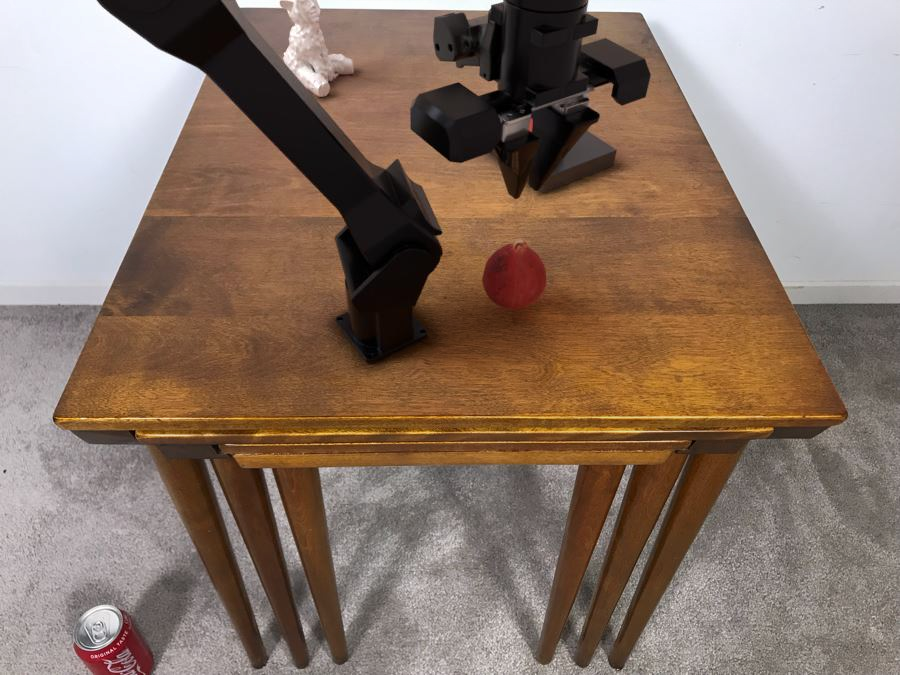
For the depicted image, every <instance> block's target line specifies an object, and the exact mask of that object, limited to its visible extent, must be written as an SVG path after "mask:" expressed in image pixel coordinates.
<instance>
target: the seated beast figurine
mask: <svg viewBox="0 0 900 675" xmlns="http://www.w3.org/2000/svg"><path fill="white" fill-rule="evenodd" d="M279 6H280V8H282V9H283V10H286V12H287V14H288V16H289V18H290V20H291V21H292V23H294V25H293V26H292V27H290V28H291V29H290V31H289V37H288V42H289V45H288V46H287V48H286V51H285V52H283V57H282V60H283V62H284V63H285V64H286V65H287V66H288V67H289V69H290V70H291V71H292V72H293V73H294V74H295V76H296V77H297V78H298V79H299V80H300V82H301V83H302V84H303V85H304V86H305V87H306V89H307V90H308V91H309V92H310V93H311V94H314V95H315V96H317V97H318V98H323V97H327V95H329V93H330V90H331V86H330V83H329V82H333V81H334V80H336V78H337V77H338V76H339V75H349V76H350V75H354V71H355V70H354V69H355V68H354V66H355V65H354V60H353V59H352V58H349V57H346V56H345V55H343V54H342V53H331V54H329V49H328V48H327V47H326V41H325V37H324V33H323V31H322V29H321V28H320V23H319V22H320V15H321V11H322V10H321V7H320V4H319V3H318V0H279Z"/></svg>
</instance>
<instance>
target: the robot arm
mask: <svg viewBox="0 0 900 675" xmlns="http://www.w3.org/2000/svg"><path fill="white" fill-rule="evenodd" d="M96 2H97V3H98V5H99V6H100V7H102V8H103V9H104V10H106V12H108V13H109V14H110V15H111V16H112V17H114V18H115V19H117V20H118V21H119V22H121V23H122V24H123V25H125V26H126V27H127V28H128V29H130V30H131V31H133V32H134V33H135V34H137V35H138V36H139V37H141V38H142V39H143V40H145V41H147V43H149V44H150V45H152V46H153V47H155V48H156V49H157V50H158V51H161V52H163V53H166V54H168V55H169V56H171V57H173V58H176V59H177V60H179V61H182V62H185V63H187V64H189V65H191V66H193V67H195V68H197V69H198V70H200V71H201V72H202V73H204V74H205V75H206V76H207V77H208V78H209V79H210V80H211V82H213V83H214V84H215V85H216V86H217V87H218V88H219V89H220V90H221V92H222V93H223V94H225V96H226V97H227V98H228V99H229V100H230V101H231V102H232V103H233V104H234V105H235V106H236V107H237V108H238V109H239V110H240V111H241V112H242V113H243V114H244V115H245V117H247V119H249V120H250V121H251V122H252V124H254V125H255V126H256V128H257V129H259V131H260V132H261V133H262V134H263V135H264V136H265V137H266V138H267V139H268V140H269V141H270V142H271V143H272V144H273V145H274V146H275V147H276V148H277V149H278V151H280V152H281V153H282V154H283V155H284V156H285V157H286V159H288V161H290V163H291V164H292V165H293V166H294V167H295V168H296V169H297V170H298V171H299V172H300V173H301V174H302V176H304V177H305V178H306V179H307V180H308V181H309V183H311V185H313V186H314V187H315V188H316V189H317V191H318V192H320V194H322V196H323V197H324V198H325V199H326V200H327V201H328V202H329V203H330V204H331V205H332V206H333V207H334V208H335V209H336V210H337V212H339V214H340V216H341V217H342V219H343V221H344V224H345V225H344V226H343V228H342V229H341V230H340V231H339V232H338V233H337V234H335V236H334V241H335V245H336V249H337V251H338V257H339V260H340V263H341V267H342V270H343V274H344V287H345V296H346V305H347V311H346V312H344V313H341V314H339V315H337V316H335V318H334V323H335V325H336V326H337V328H338V329H339V330H340V332H341V333H342V334H343V335H344V336H345V338H346V339H347V340H348V342H349V343H350V344H351V345H352V347H353V348H354V349H355V351H356V352H357V353H358V354H359V355H360V357H361V358H362V359H363V360H364V362H366V364H372V363H375V362H378V361H379V360H381V359H383V358H386V357H388V356H390V355H392V354H394V353H397V352H399V351H401V350H403V349H406V348H408V347H410V346H412V345H414V344H416V343H419V342H420V341H423V340H425V339H427V338H428V337H429V330H428V329H427V328H426V326H425V325H424V324H423V323H422V322H421V321H420V320H419V319H418V317H416V316H415V314H414V307H416V305H417V304H418V301H419V298H420V296H421V294H422V292H423V291H424V290H423V289H424V287H425V285H426V283H427V281H428V278H429V276H430V275H431V274H432V273H433V272H434V271H435V270H436V268H437V267H438V265H439V264H440V262H441V259H442V256H443V254H444V252H443V251H444V250H443V246H442V244H441V241H440V240H439V237H438V236H441V235H442V234H443V230H442V228H441V226H440V223H439V220H438V219H437V217H436V214H435V213H434V210H433V207H432V206H431V203H430V200H429V199H428V196H427V193H426V192H425V190H424V188H423V186H422V185H421V184H418V183H416V182H414V181H413V179H411V177H409V176H408V174H407V172H406V170H405V168H404V167H403V165H402V163H401V161H400V159H399V158H396V159H395V160H394V161H392V162H391V164H389V165H388V167H386V168H384V167H381V166H380V165H376V164H375V163H373V162H372V161H370V160H369V159H368V158H366V156H365V155H364V154H363V153H362V152H361V150H360V149H359V148H358V147H357V146H356V144H355V143H354V142H353V141H352V140H351V139H350V138H349V136H348V135H347V134H346V133H345V131H343V129H342V128H341V127H340V126H339V125H338V124H337V123H336V121H335V120H334V119H333V118H332V117H331V115H330V114H329V113H328V112H327V111H326V110H325V108H324V107H323V105H321V104H320V102H319V101H318V100H317V99H316V98H315V96H313V93H312V92H311V91H309V90H308V89H306V87H305V86H304V85H303V84H302V83H301V82H300V80H299V79H298V78H297V77H296V76H295V74H294V73H293V72H292V71H291V70H290V69H289V67H288V66H287V65H286V64H285V63H284V60H283V58H281V57H280V55H279V54H278V53H277V51H275V50H274V48H273V47H272V46H271V45H270V44H269V43H268V41H266V39H265V38H264V37H263V36H262V34H260V32H259V31H258V30H257V29H256V27H255V26H254V25H253V24H252V23H251V22H250V20H248V18H247V17H246V16H245V14H244V12H243V11H242V8H240V6H239V4H238V2H237V0H96ZM588 7H589V0H502V1H501V2H498V3H494V4H491V5H490V8H489V10H488V13H487V14H485V15H482V16H478V17H474V18H469V19H468V18H467V16H466V14H465V12H463V11H462V12H457V13H455V12H451V13H446V14H443V15H438V16H435V17H434V20H433V31H432V32H433V34H432V42H433V48H434V52H435V57H436V58H437V59H438V60H439V61H440V62H444V63H445V62H446V63H447V62H449V63H455V67H456V69H463V68H465V67H478V68H479V74H478V75H479V77H480V78H482V79H483V80H485V81H487V82H495V83H497V89H496V90H493V91H490V92H489V91H488V92H486V93H484V94H480V95H477V93H475V92H474V91H472V90H471V89H469V88H468V87H466V85H463V83H461V82H459V81H458V82H453V83H451V84H448V85H444V86H441V87H437V88H433V89H431V90H428V91H424V92H421V93H419V94H418V95H416V96H415V98H413V100H412V101H411V105H410V108H409V117H410V118H409V124H410V130H411V131H412V132H413V133H414V134H415V135H416V136H418V137H419V138H420V139H422V140H423V141H424V142H425V143H426V144H427V145H429V146H430V147H431V148H432V149H433V150H434V151H436V152H437V153H438V154H440V155H441V156H442V157H443V158H445V159H446V160H447V161H448V162H450V163H457V164H463V163H466V162H468V161H471V160H474V159H477V158H480V157H483V156H485V155H488V154H491V152H492V151H493V149H494V151H495V154H496V157H497V158H496V157H495V158H496V160H497V163H498V166H499V169H500V172H501V176H502V179H503V182H504V185H505V189H506V191H507V194H508V195H509V196H510V197H511V198H513V199H514V200H518V199H520V198H521V195H522V194H523V191H524V189H525V187H526V184H527V183H528V182H527V179H528V176H529V183H528V186H529V187H530V188H531V189H532V190H533V191H534V192H537V191H539V190H540V189H541V188H542V187H543V185H544V184H545V183H546V181H547V180H548V179H549V177H550V176H551V175H552V173H553V172H554V171H555V169H556V168H557V167H558V165H559V164H560V163H561V161H562V160H563V159H564V157H565V156H566V155H567V153H568V152H569V151H570V150H571V149H572V147H573V146H574V145H575V144H576V143H577V142H578V140H579V139H580V138H581V137H582V136H583V134H584V133H585V132H586V131H589V129H590V128H591V126H593V125H595V124H597V123H598V122H599V120H600V118H601V114H600V113H599V112H598V111H596V110H594V108H591V107H590V98H589V93H591V92H594V91H595V90H596V89H597V88H599V87H602V86H604V85H607V84H612V89H611V94H610V97H611V98H612V99H613V100H614V101H615V102H616V103H617V104H619V105H620V106H621V107H622V106H626V105H628V104H631V103H634V102H636V101H639V100H643V99H645V98H647V94H648V89H649V84H650V81H651V76H652V74H651V71H650V68H649V66H648V63H647V60H646V58H644V57H643V56H641V55H639V54H637V53H635V52H634V51H632V50H630V49H627V48H625V47H624V46H622V45H620V44H618V43H616V42H615V41H613V40H611V39H609V38H606V37H604V38H601V39H598V40H594V41H591V42H588V43H584V44H583V39H584V38H589V37H591V36H595V35H597V34H598V33H597V31H598V26H599V20H600V19H599V18H597V17H596V16H594V15H592V14H590V13H588ZM531 117H532V121H533V125H532V132H531V131H529V124H530V118H531Z"/></svg>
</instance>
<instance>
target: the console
mask: <svg viewBox="0 0 900 675" xmlns="http://www.w3.org/2000/svg"><path fill="white" fill-rule="evenodd" d="M530 119H532V117H531V118H530ZM617 150H618V149H616V148H614V147H613V146H611V145H610V144H608V143H606V141H604V140H602V139H601V138H599V137H597V136H596V135H595V134H593V133H592V132H591V131H589V130H587V131H586V132H585V133H584V134H583V136H582V137H581V138H580V139H579V140H578V142H577V143H576V144H575V145H574V146H573V147H572V149H571V150H570V151H569V152H568V153H567V155H566V156H565V157H564V159H563V160H562V161H561V163H560V164H559V165H558V167H557V168H556V169H555V171H554V172H553V173H552V175H551V176H550V177H549V179H548V180H547V181H546V183H545V184H544V185H543V187H542V188H541V189H540V190H538V191H539V193H541V194H546V193H548V192H550V191H553V190H556V189H558V188H561V187H563V186H567V185H569V184H571V183H574V182H576V181H579V180H582V179H584V178H587V177H590V176H591V175H594V174H596V173H599V172H602V171H604V170H606V169H609V168H611V167H613V166H614V165H615V160H616V156H617ZM490 154H491V155H492V156H493V157H494V158H496V159H497V157H496V154H495V151H494V149H493V151H492V152H491V153H490ZM526 183H527V184H529V176H528V179H527V182H526Z"/></svg>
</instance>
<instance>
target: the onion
mask: <svg viewBox="0 0 900 675" xmlns="http://www.w3.org/2000/svg"><path fill="white" fill-rule="evenodd" d="M481 280H482V281H481V282H482V287H483V289H484V292H485V294H486V296H487V297H488V299H489V300H490V301H491V302H492V303H494V304H495V305H496V306H498V307H500V308H502V309H503V308H504V309H506V310H520V309H526V308H528V307H529V306H531V305H533V304H535V303H536V302H537V301H538V300H539V299H540V297H541V296H542V295H543V294H544V292H545V289H546V285H547V269H546V267H545V264H544V262H543V260H542V259H541V257H540V255H539V253H537V252H536V251H535V250H533V249H532V248H531V247H529V246H528V244H527V242H526V240H525V239H523V238H518V239H516V240H514V241H513V243H507V244H505V245H502V246H501V247H500V248H497V249H496V250H495V251H494V252H493V253H492V254H491V255H490V256H489V257H488V258H487V260H486V262H485V265H484V270H483V274H482V278H481Z"/></svg>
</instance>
